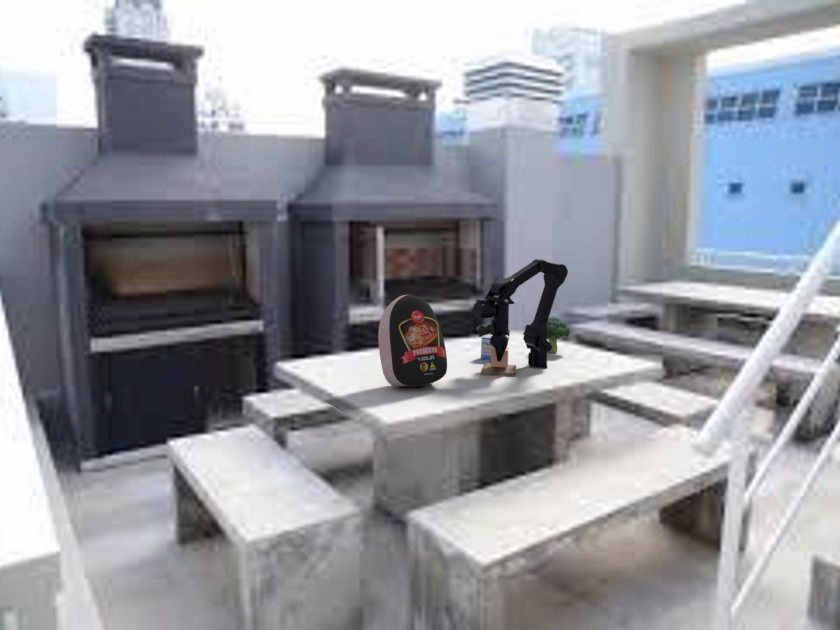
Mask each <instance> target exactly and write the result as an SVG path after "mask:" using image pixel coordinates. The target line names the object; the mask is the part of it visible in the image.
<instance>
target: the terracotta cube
mask: <svg viewBox="0 0 840 630" xmlns="http://www.w3.org/2000/svg"><path fill="white" fill-rule="evenodd" d="M490 364H491V367H507V366H508V365H509V347H508V346H507V348H506V350H505V352H504V354H503V357H502V359H501V361H500V362H499V361H497V356H496V351H495V347H492V348H491V360H490Z"/></svg>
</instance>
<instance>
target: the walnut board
mask: <svg viewBox="0 0 840 630" xmlns="http://www.w3.org/2000/svg"><path fill="white" fill-rule="evenodd" d="M516 373H517V364H508V366H507V367H491V363H483V365H482V368H481V375H484V376H499V375H504V376H505V377H516V375H517V374H516Z"/></svg>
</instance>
